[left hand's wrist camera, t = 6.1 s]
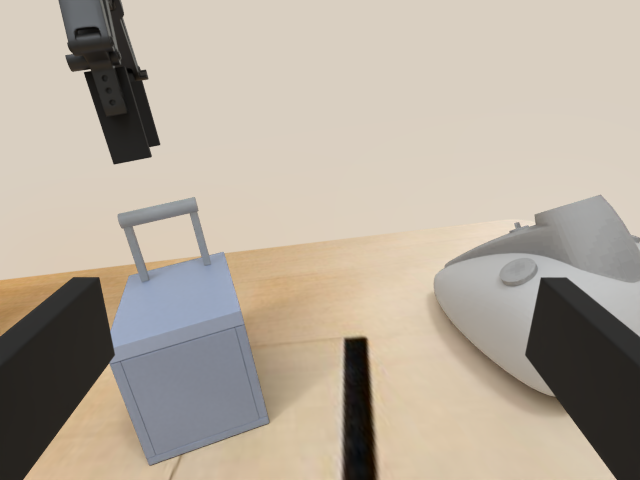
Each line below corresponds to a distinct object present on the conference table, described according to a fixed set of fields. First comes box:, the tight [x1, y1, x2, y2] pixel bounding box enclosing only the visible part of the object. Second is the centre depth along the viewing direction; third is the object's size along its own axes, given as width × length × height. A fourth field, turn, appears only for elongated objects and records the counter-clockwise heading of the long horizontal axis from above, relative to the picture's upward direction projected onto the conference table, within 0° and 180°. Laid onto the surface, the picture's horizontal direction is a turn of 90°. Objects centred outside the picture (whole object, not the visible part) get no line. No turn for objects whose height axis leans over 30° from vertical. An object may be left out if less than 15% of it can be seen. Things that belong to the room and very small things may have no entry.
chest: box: [110, 324, 269, 465], centre depth 40 cm, size 14×10×10 cm
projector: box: [434, 195, 640, 397], centre depth 38 cm, size 22×23×15 cm
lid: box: [109, 197, 244, 364], centre depth 37 cm, size 15×10×8 cm, turn 18°
